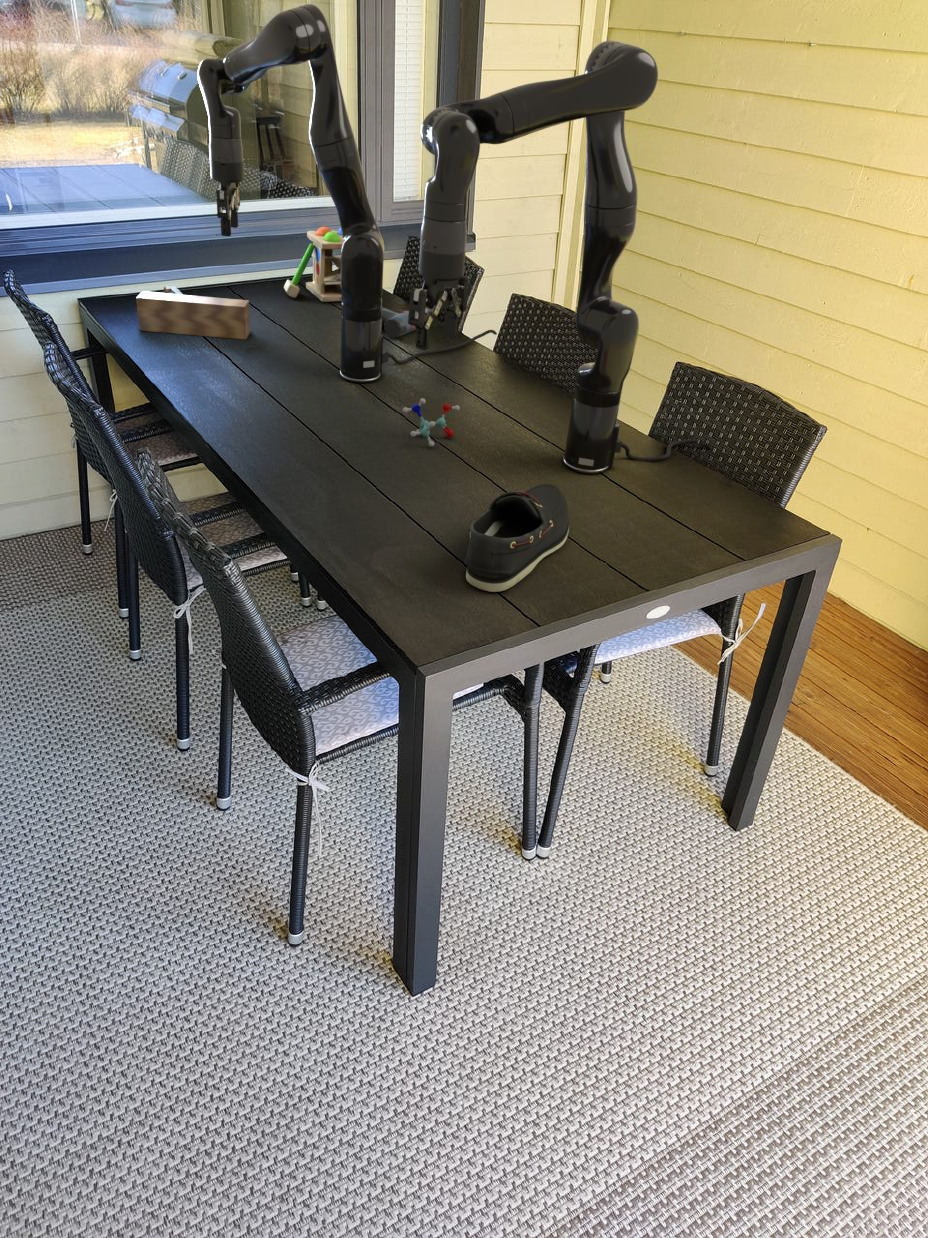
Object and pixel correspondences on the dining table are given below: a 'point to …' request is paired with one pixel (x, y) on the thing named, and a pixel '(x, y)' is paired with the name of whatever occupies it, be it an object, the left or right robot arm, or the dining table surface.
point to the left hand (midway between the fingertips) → (230, 231)
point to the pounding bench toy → (320, 266)
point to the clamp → (172, 290)
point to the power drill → (397, 322)
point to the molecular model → (427, 425)
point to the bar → (193, 315)
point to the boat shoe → (515, 536)
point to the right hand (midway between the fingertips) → (436, 343)
